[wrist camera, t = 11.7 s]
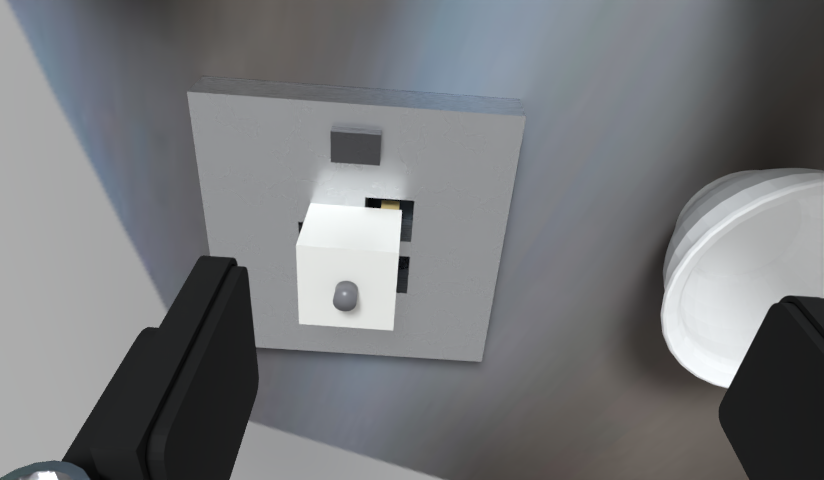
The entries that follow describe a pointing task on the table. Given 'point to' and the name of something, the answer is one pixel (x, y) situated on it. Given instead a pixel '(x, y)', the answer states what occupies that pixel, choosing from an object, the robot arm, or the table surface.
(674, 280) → the bowl
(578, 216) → the table surface
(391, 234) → the plug
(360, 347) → the socket
